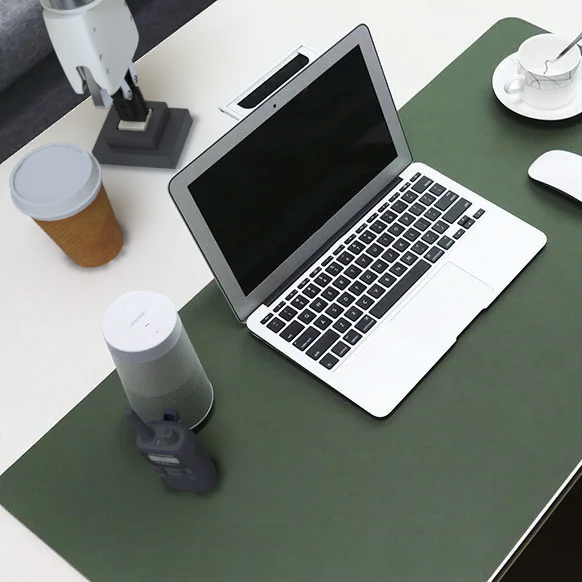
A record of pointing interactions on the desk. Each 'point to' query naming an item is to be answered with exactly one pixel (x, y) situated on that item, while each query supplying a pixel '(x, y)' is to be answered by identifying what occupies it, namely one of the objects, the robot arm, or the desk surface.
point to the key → (135, 124)
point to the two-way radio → (174, 451)
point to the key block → (144, 139)
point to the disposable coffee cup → (68, 202)
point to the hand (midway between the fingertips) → (135, 116)
